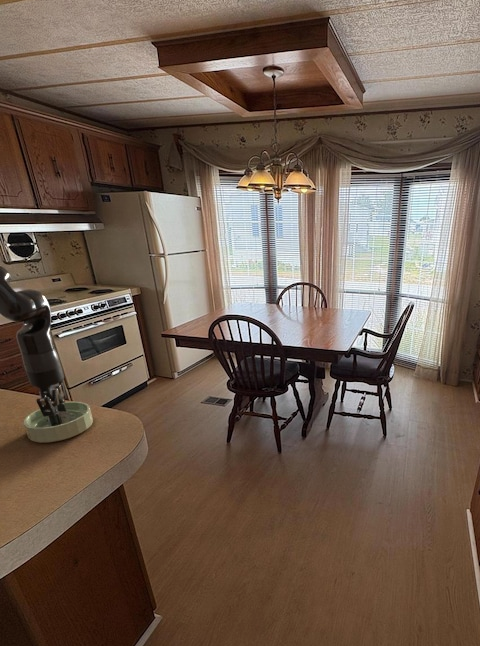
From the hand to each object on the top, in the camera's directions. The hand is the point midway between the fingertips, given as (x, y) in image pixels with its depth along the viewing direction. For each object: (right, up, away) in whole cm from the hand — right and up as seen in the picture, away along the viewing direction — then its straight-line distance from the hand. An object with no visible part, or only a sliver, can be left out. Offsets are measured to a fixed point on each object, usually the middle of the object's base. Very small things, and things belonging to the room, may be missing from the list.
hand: (59, 420), depth 98 cm
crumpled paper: (0, -2, +1) cm, 3 cm away
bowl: (0, -3, +1) cm, 3 cm away
